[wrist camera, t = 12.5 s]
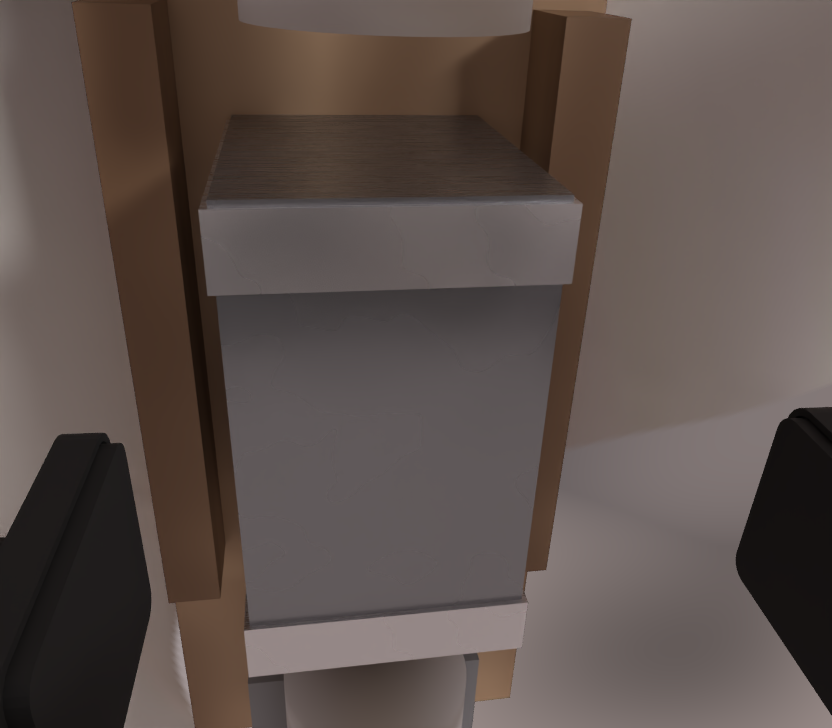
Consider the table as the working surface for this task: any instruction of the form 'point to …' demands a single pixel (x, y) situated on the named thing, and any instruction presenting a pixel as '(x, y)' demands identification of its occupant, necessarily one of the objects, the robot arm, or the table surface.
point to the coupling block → (383, 378)
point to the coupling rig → (197, 312)
